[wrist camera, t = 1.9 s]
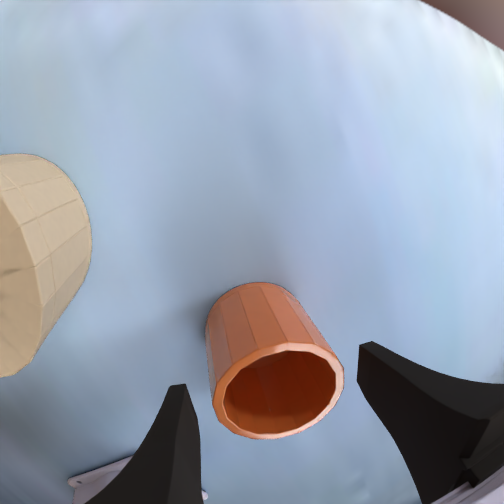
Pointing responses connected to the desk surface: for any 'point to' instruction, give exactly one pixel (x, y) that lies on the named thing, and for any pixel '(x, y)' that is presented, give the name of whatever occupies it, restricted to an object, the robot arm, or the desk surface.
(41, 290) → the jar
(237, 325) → the cup
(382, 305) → the desk surface
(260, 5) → the desk surface
